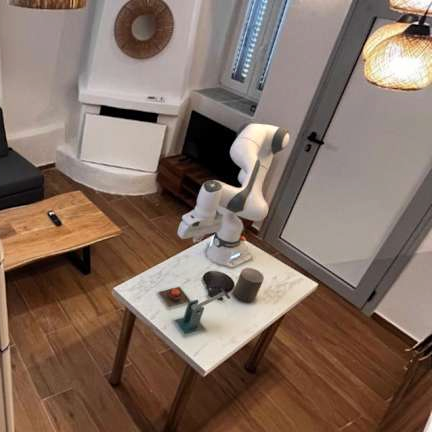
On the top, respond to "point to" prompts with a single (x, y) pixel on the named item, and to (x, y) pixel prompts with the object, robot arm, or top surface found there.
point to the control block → (173, 300)
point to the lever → (210, 299)
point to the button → (175, 292)
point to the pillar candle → (248, 285)
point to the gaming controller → (214, 290)
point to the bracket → (191, 319)
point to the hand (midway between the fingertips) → (196, 241)
